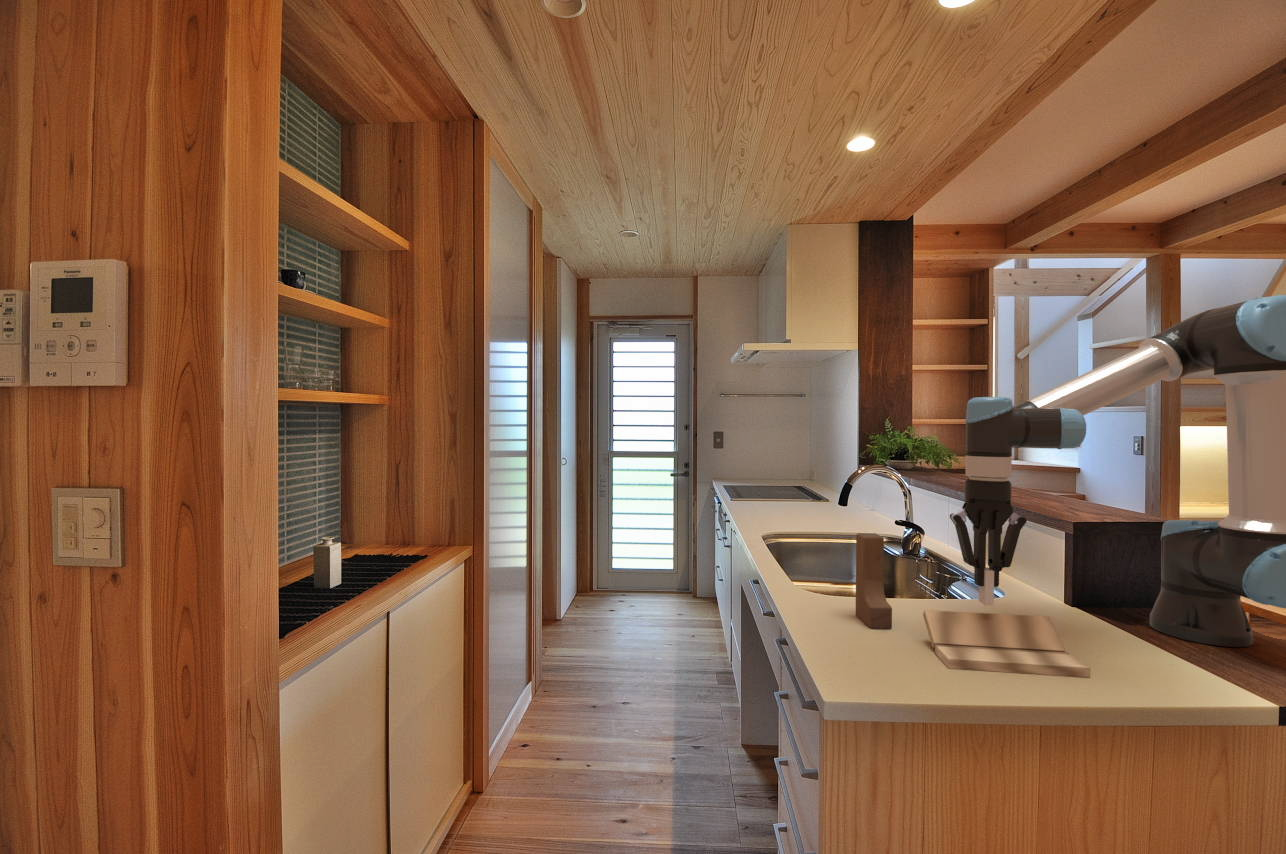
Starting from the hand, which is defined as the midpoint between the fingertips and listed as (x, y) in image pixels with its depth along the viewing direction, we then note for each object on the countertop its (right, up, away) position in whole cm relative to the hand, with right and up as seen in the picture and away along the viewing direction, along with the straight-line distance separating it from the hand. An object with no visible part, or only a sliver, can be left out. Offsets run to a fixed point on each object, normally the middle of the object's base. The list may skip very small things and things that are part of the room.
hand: (986, 603), depth 110 cm
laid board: (-1, -8, -9) cm, 12 cm away
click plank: (0, -5, -2) cm, 6 cm away
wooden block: (-16, -8, +13) cm, 22 cm away
